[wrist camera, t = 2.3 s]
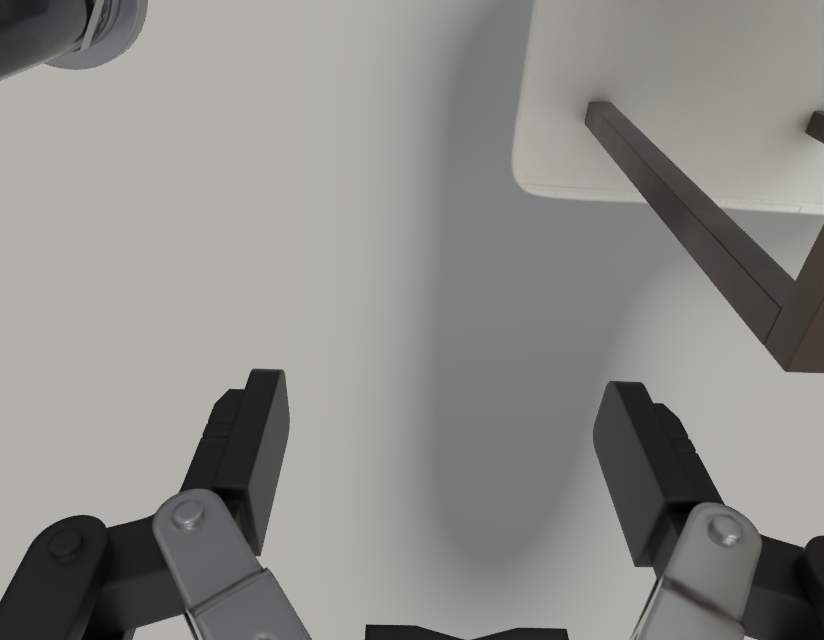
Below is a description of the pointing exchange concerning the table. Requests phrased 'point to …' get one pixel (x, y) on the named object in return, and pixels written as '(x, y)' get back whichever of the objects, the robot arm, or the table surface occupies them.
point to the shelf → (726, 245)
